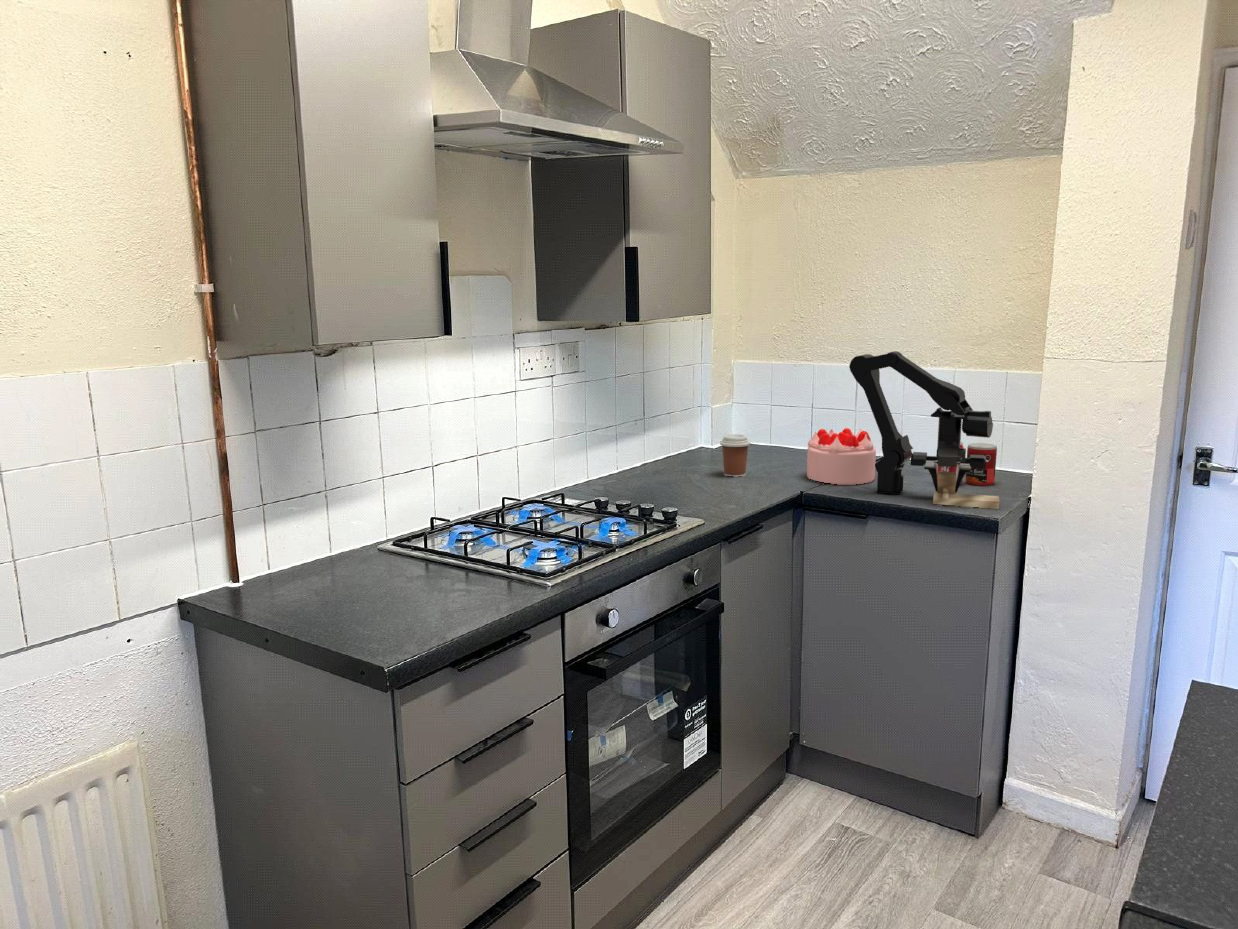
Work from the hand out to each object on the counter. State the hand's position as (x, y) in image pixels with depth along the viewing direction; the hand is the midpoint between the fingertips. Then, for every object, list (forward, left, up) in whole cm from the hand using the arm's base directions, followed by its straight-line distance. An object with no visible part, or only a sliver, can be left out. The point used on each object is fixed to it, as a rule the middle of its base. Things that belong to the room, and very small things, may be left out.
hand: (946, 492), depth 249 cm
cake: (-30, +18, -2) cm, 35 cm away
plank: (+5, -5, -2) cm, 7 cm away
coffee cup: (-61, +14, -2) cm, 63 cm away
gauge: (0, -4, -2) cm, 4 cm away
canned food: (+9, +22, -2) cm, 24 cm away
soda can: (0, +19, -2) cm, 19 cm away
